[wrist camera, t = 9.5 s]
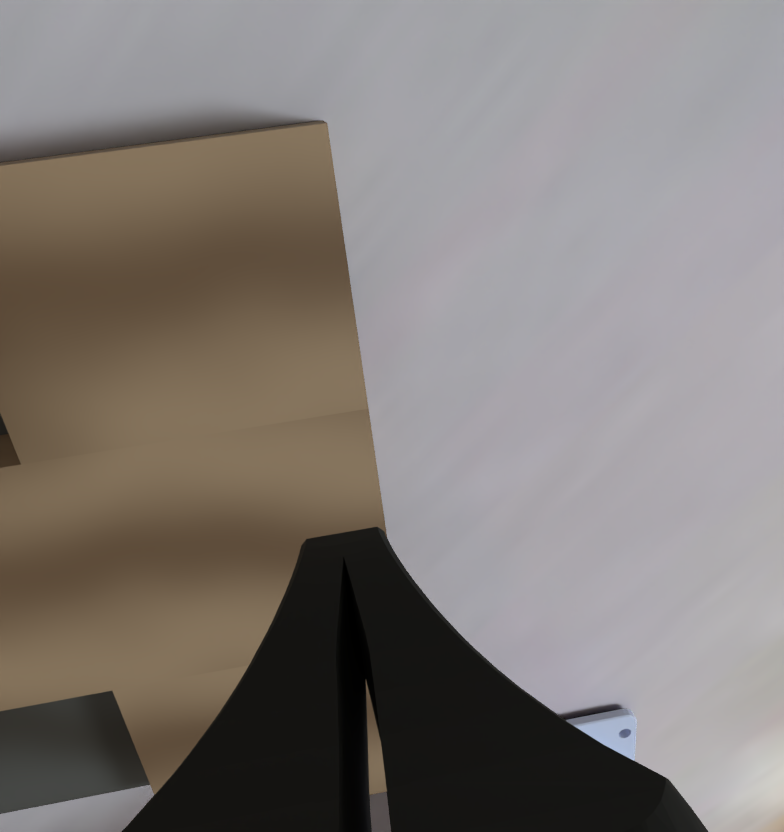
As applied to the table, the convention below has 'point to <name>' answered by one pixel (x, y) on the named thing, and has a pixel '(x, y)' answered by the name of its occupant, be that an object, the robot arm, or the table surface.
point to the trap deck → (165, 441)
